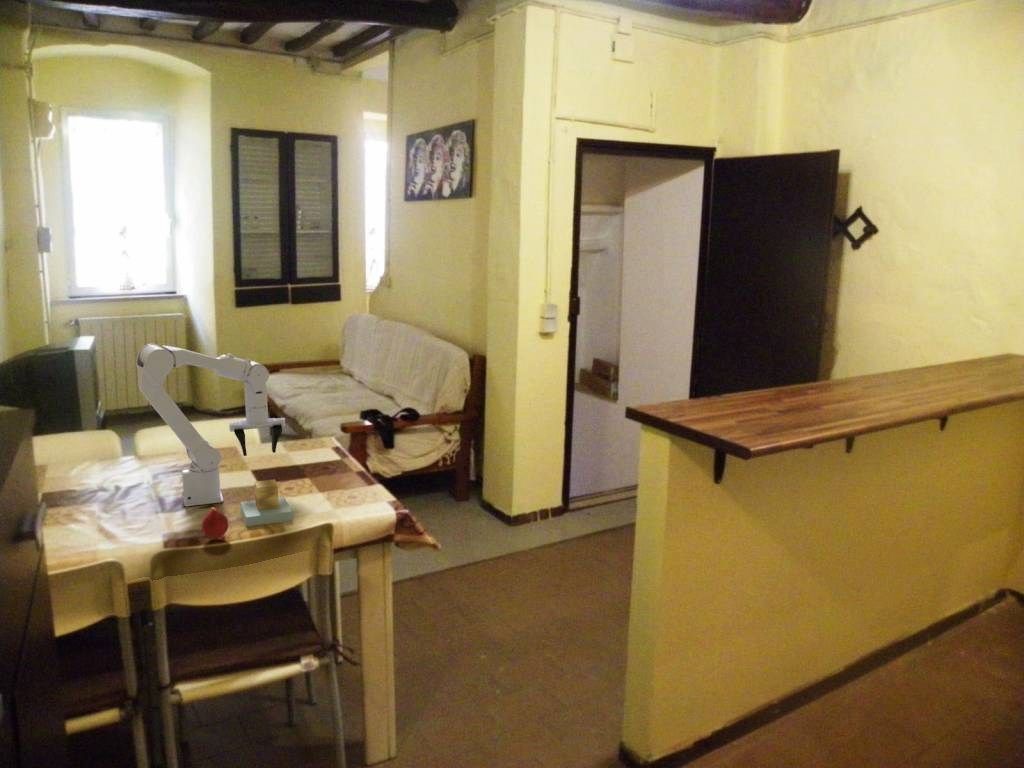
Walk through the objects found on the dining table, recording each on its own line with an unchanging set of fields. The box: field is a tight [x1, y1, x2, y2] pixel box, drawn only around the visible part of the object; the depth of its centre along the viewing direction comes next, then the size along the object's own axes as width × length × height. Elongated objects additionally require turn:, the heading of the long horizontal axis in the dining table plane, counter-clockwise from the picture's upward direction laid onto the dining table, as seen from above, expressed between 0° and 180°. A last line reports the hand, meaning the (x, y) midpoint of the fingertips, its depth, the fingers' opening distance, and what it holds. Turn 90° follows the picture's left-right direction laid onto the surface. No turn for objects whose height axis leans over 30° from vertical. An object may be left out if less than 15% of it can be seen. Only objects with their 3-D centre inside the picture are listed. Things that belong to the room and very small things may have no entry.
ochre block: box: [254, 479, 279, 511], centre depth 196 cm, size 5×5×6 cm
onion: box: [201, 507, 229, 541], centre depth 181 cm, size 6×6×8 cm
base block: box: [239, 496, 293, 528], centre depth 197 cm, size 11×11×3 cm
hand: (259, 453), depth 213 cm, fingers open, 7 cm apart
